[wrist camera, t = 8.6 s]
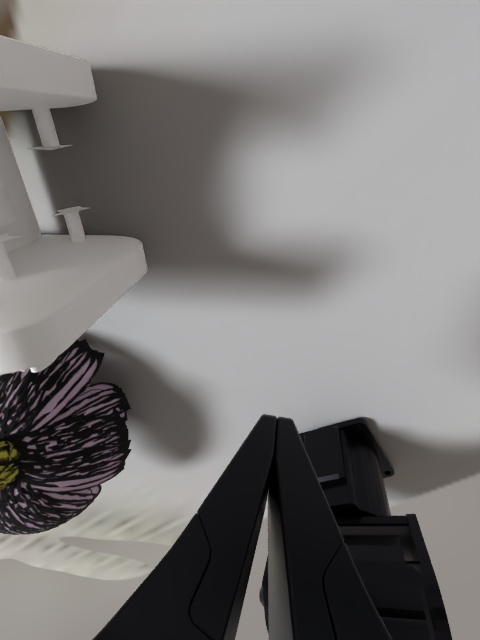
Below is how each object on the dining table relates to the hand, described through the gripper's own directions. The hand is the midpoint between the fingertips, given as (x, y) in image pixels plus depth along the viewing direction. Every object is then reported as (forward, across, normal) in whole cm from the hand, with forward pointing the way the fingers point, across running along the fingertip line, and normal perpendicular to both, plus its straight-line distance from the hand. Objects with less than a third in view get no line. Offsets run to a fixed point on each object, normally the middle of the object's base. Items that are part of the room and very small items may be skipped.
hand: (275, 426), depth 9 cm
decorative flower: (+12, +18, +14) cm, 25 cm away
